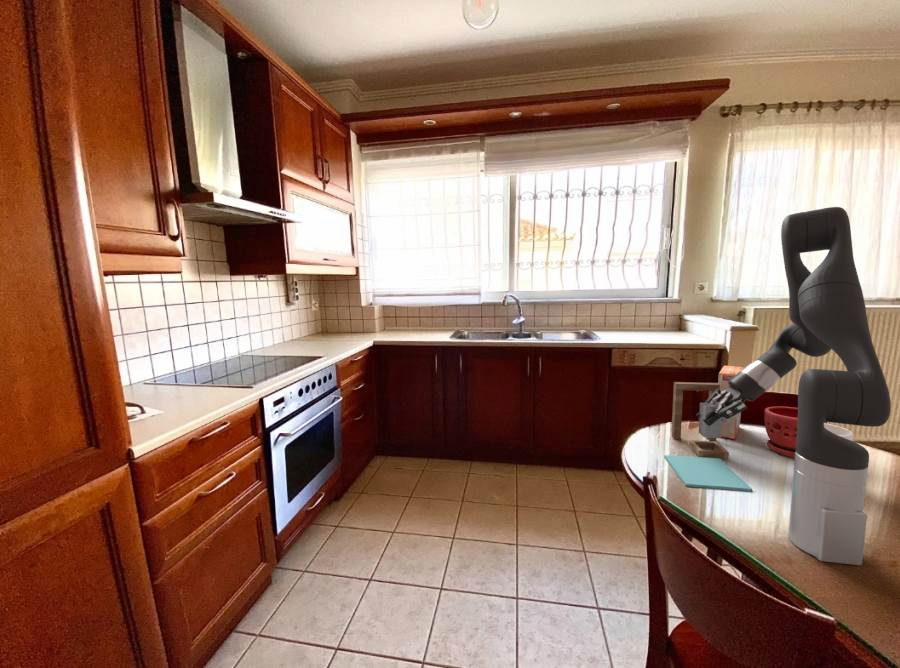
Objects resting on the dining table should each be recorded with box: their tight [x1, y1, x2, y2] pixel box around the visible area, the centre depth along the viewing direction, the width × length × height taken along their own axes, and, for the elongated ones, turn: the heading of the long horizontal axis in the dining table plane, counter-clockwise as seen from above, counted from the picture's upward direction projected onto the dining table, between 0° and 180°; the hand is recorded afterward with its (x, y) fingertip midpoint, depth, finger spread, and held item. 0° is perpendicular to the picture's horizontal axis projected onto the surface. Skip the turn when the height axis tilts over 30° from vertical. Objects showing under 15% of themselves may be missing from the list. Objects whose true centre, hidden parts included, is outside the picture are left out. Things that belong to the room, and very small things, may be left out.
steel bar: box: [698, 402, 722, 439], centre depth 108 cm, size 4×4×9 cm
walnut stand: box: [671, 381, 730, 460], centre depth 112 cm, size 15×12×18 cm
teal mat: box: [663, 454, 753, 492], centre depth 98 cm, size 16×14×1 cm
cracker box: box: [717, 365, 745, 441], centre depth 123 cm, size 14×6×21 cm, turn 139°
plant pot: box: [764, 406, 828, 459], centre depth 107 cm, size 13×13×12 cm
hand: (702, 420), depth 108 cm, fingers closed on steel bar, 4 cm apart
